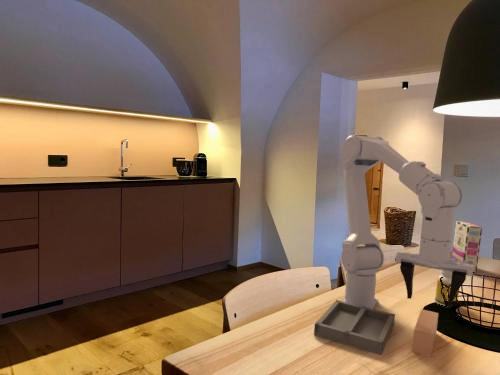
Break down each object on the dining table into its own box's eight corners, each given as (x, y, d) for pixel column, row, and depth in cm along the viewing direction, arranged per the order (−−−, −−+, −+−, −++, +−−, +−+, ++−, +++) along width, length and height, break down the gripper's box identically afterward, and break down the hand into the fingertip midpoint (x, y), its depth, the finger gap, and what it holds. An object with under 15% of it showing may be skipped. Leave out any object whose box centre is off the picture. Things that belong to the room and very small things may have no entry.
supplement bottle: (447, 309, 101) (451, 273, 100) (430, 301, 105) (434, 266, 104) (461, 306, 103) (465, 271, 102) (444, 299, 108) (448, 265, 107)
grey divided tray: (335, 309, 97) (336, 300, 96) (394, 324, 90) (395, 314, 90) (313, 334, 83) (314, 323, 82) (381, 354, 76) (382, 342, 76)
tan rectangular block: (419, 330, 88) (421, 309, 88) (436, 334, 86) (438, 313, 86) (411, 352, 78) (414, 329, 77) (430, 358, 76) (433, 334, 76)
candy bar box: (477, 273, 134) (483, 227, 132) (462, 272, 134) (467, 226, 133) (464, 264, 145) (469, 221, 143) (450, 262, 145) (455, 220, 144)
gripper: (395, 236, 80) (390, 299, 81) (476, 248, 73) (468, 317, 74) (400, 230, 86) (395, 289, 87) (475, 241, 79) (468, 304, 80)
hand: (429, 301), depth 81 cm, fingers open, 7 cm apart
